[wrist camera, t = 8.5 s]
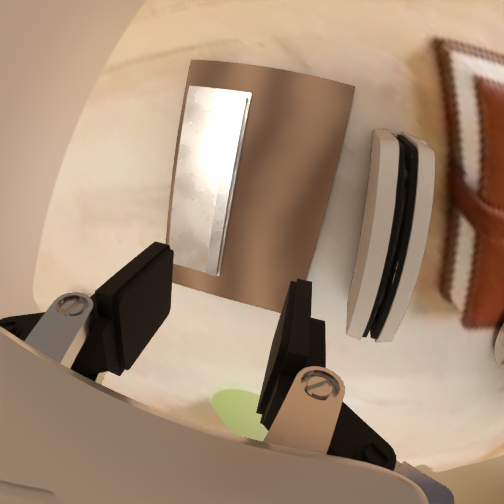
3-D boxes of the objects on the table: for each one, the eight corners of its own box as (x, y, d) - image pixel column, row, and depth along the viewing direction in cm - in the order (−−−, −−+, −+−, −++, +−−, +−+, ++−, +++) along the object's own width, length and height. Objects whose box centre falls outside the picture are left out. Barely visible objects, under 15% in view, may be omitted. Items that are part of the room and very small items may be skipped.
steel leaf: (252, 93, 23) (249, 91, 21) (220, 274, 30) (216, 281, 28) (191, 86, 23) (184, 84, 22) (169, 260, 30) (163, 266, 29)
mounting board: (353, 88, 22) (354, 86, 21) (294, 309, 31) (294, 316, 30) (195, 62, 23) (191, 59, 22) (168, 274, 32) (163, 279, 31)
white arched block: (391, 303, 29) (399, 370, 20) (347, 297, 30) (341, 362, 21) (423, 136, 22) (461, 139, 13) (372, 127, 23) (385, 123, 14)
